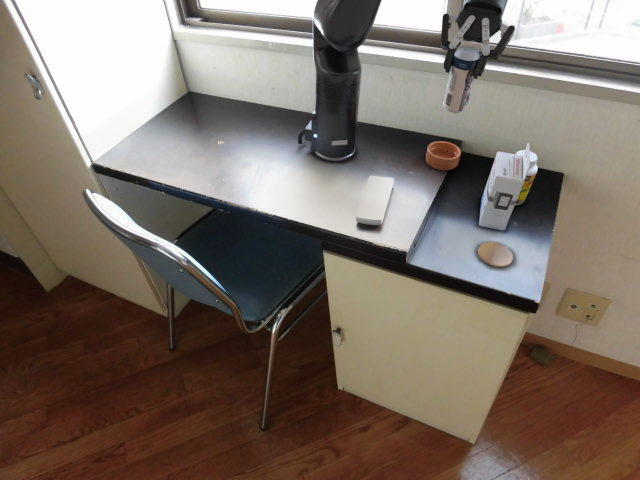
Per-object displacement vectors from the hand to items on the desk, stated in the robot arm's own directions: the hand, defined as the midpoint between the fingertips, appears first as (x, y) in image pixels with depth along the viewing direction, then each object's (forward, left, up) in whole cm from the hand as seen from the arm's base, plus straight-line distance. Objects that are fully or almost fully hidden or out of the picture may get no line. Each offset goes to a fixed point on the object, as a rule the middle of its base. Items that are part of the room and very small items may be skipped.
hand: (461, 73), depth 90 cm
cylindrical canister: (0, +2, -8) cm, 9 cm away
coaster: (+14, -24, -21) cm, 35 cm away
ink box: (+13, -13, -21) cm, 28 cm away
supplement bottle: (+16, -6, -21) cm, 27 cm away
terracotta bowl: (0, +2, -21) cm, 21 cm away
